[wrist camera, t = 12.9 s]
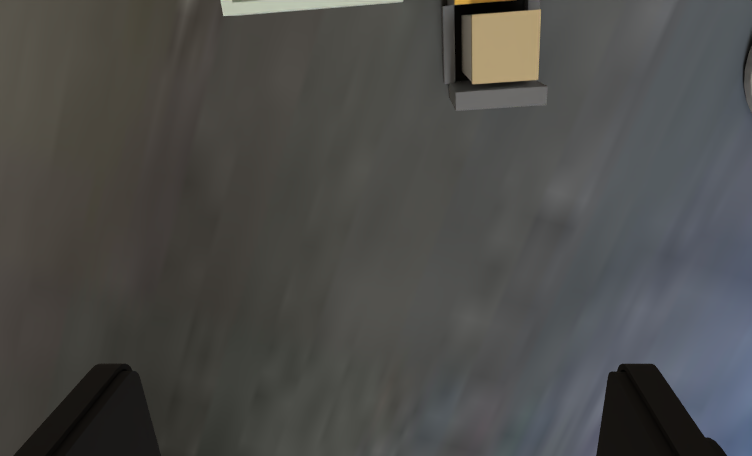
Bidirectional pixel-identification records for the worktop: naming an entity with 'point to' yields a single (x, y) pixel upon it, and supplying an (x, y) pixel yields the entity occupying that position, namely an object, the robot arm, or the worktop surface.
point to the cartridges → (501, 46)
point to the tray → (289, 5)
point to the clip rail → (488, 93)
